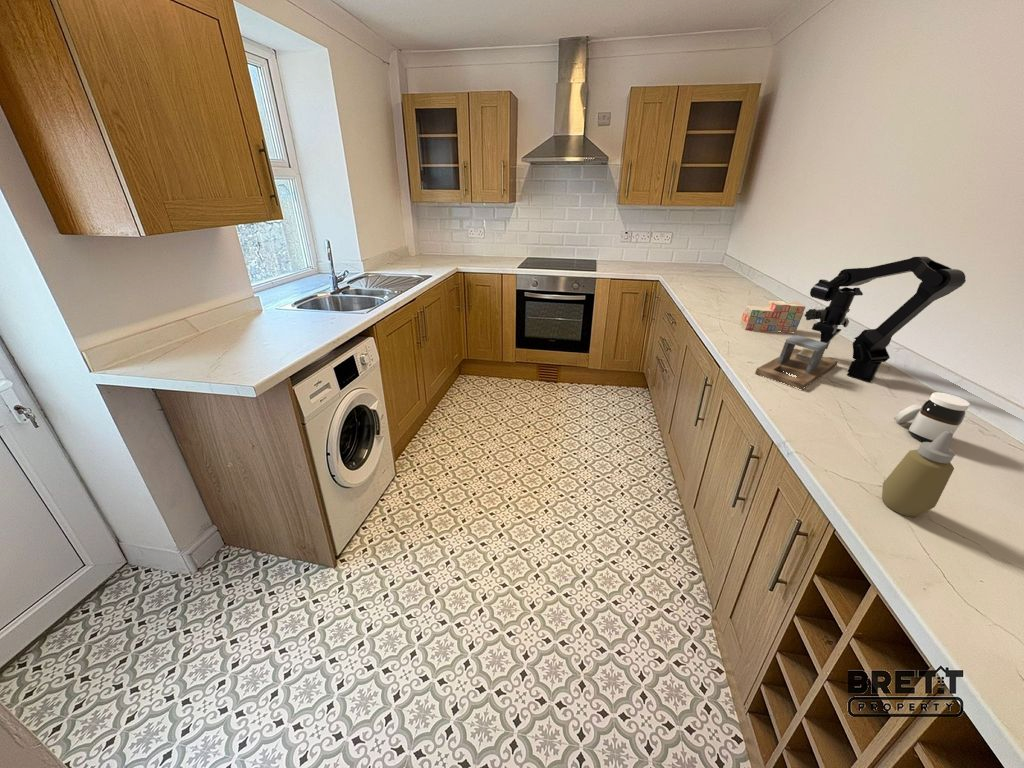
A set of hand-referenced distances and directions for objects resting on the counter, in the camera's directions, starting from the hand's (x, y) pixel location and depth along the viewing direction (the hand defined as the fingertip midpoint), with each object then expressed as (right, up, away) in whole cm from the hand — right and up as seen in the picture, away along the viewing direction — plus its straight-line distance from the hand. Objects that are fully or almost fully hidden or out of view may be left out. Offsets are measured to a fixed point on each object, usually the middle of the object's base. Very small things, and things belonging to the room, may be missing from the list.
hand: (821, 346), depth 148 cm
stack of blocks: (-1, +10, +30) cm, 32 cm away
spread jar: (-7, -27, -42) cm, 50 cm away
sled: (-4, -3, -2) cm, 5 cm away
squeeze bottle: (-36, -39, -67) cm, 86 cm away
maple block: (-9, -5, -5) cm, 12 cm away
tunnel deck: (-15, -9, -9) cm, 20 cm away
